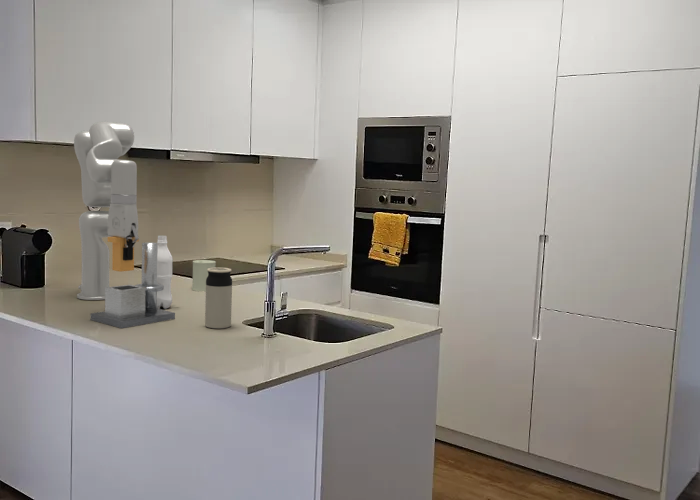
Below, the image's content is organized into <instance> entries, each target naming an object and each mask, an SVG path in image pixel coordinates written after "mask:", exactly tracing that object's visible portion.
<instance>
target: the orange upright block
mask: <svg viewBox="0 0 700 500" xmlns="http://www.w3.org/2000/svg"><path fill="white" fill-rule="evenodd" d="M127 237H128V236H127ZM129 240H130V239H128V241H129ZM139 241H140V239H138V240H137V241H136V243H137V242H139ZM107 242H108V243H112V245H111V246H112V248H111V249H112V254H111V255H112V256H111V257H112V258H111V259H112V262H111V263H112V265H111V267H112V268H111V269H112V271H114V272H130V271H135V246H134V247H133V260H126V261H125V260H123V248H124V247H125V246H124V238H120V237H107Z"/></svg>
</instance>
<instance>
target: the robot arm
mask: <svg viewBox="0 0 700 500" xmlns="http://www.w3.org/2000/svg"><path fill="white" fill-rule="evenodd" d="M134 133H135V132H134V129H133V127H132V126H131V125H130V124H128V123H125V122H114V121H97V122H95V123H92V125H91V126H90V127H89V130H83V131H82V130H81V131H78V132H76V134H75V135H74V139H73V148H74V153H75V155H76V158H77V161H78V164H79V166H80V170H81V171H80V172H81V173H80V175H81V178H80V179H81V197H82V202H83V204H84V205H85V206H87V207H89V208H109V209H108V210H89V211H84V212H82V213H81V214H80V216H79V218H78V226H79V227H78V228H79V233H80V234H79V235H80V240H81V241H80V243H81V245H80V247H81V284H80V285H78V289H79V290H80V292H79V293H77V294H76V298H77V299H79V300H85V301H103V300H104V301H105V288H106V287H110V248H109V246H108V244H107V243H106V241H104V240H103V239H104V238H108V237H120V238H124V246H125V247H124V248H123V260H125V261H126V260H133V247H134V248H135V244H136V243H137V242H136V241H137V240H138V239H139V238H140V237H139V216H138V215H139V214H138V206H137V192H138V191H137V190H138V189H137V188H138V187H137V186H138V185H137V184H138V182H137V181H138V180H137V179H138V177H137V176H138V175H137V174H138V173H137V171H138V170H137V169H138V165H137V163H136V162H135V161H133V160H128V159H119V158H120V157H122V156H124V155H126V153H127V152H128V151H129V150H130V149H131V148H132V147H133V145H134V142H135V134H134ZM127 236H128V237H127ZM128 239H130V240H129V241H128ZM139 240H140V239H139Z"/></svg>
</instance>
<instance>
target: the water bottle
mask: <svg viewBox="0 0 700 500" xmlns="http://www.w3.org/2000/svg"><path fill="white" fill-rule="evenodd" d="M156 243H158V253H157V284H162V285H164V290H162V291H157V309H161V307H162V308H163V310H166V309H168V308H170V307H171V306H172V303H173V296H172V291H171V289H172V288H171V287H172V286H171V285H172V284H171V283H172V277H173V256H172V253H171V252H170V250H169V247H168V243H169V242H168V237H167V235H157V241H156Z"/></svg>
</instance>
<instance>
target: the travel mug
mask: <svg viewBox="0 0 700 500" xmlns="http://www.w3.org/2000/svg"><path fill="white" fill-rule="evenodd" d="M207 271H208V277H207V279H206V292H205V304H204V305H205V309H204V310H205V311H204V312H205V313H204V315H205V316H204V318H205V319H204V325H205V327H207V328H208V329H214V330H218V329H219V330H221V329H227V328H230V327H231V326H232V300H233V299H232V298H233V295H232V294H233V278H232V276H231V272H232V268H230V267H229V268H228V267H215V268H208V269H207Z"/></svg>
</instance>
